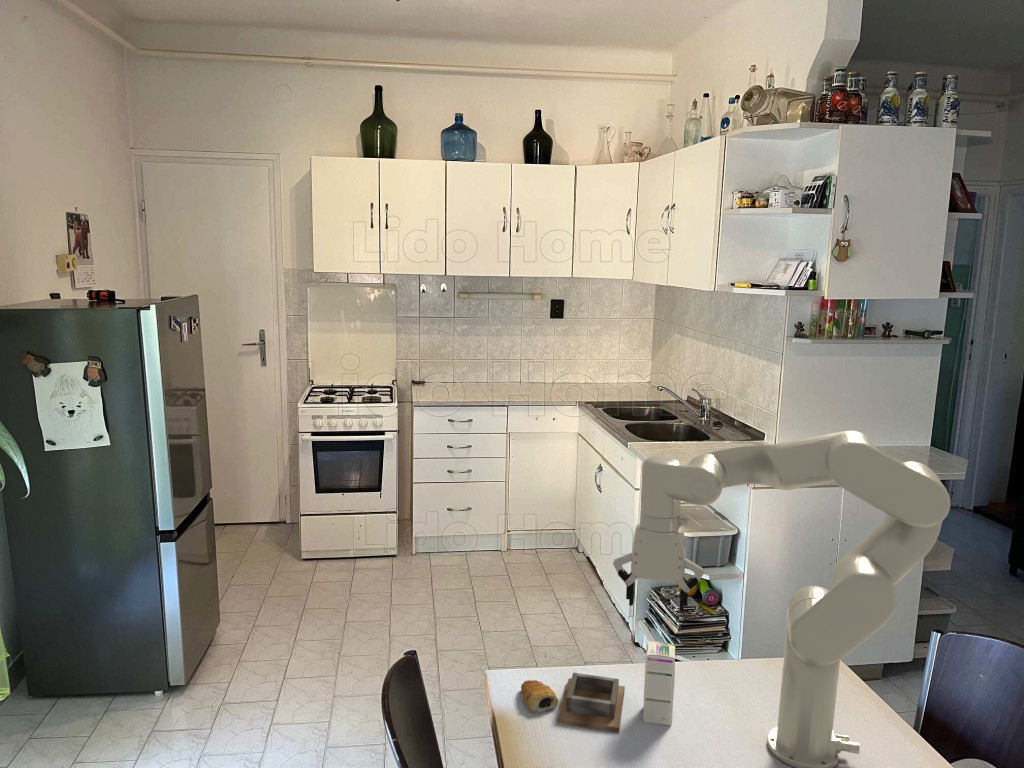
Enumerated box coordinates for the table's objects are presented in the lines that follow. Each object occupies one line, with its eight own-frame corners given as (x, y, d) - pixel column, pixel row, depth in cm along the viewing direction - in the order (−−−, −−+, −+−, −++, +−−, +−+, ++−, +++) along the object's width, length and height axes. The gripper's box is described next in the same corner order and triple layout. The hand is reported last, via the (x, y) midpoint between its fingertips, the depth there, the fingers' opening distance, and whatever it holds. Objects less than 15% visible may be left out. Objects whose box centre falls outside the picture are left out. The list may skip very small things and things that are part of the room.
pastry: (512, 691, 159) (513, 674, 158) (541, 685, 161) (542, 669, 161) (531, 716, 150) (532, 698, 150) (561, 709, 153) (562, 692, 152)
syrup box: (672, 726, 148) (676, 657, 146) (641, 722, 149) (645, 653, 147) (672, 710, 153) (676, 643, 151) (642, 706, 154) (646, 639, 152)
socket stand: (624, 690, 160) (625, 673, 159) (619, 732, 145) (620, 713, 145) (568, 682, 162) (569, 665, 162) (557, 722, 148) (558, 704, 147)
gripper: (706, 519, 146) (702, 603, 149) (617, 511, 151) (614, 592, 153) (706, 532, 139) (701, 619, 142) (612, 523, 143) (609, 608, 146)
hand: (656, 605), depth 147 cm, fingers open, 9 cm apart
